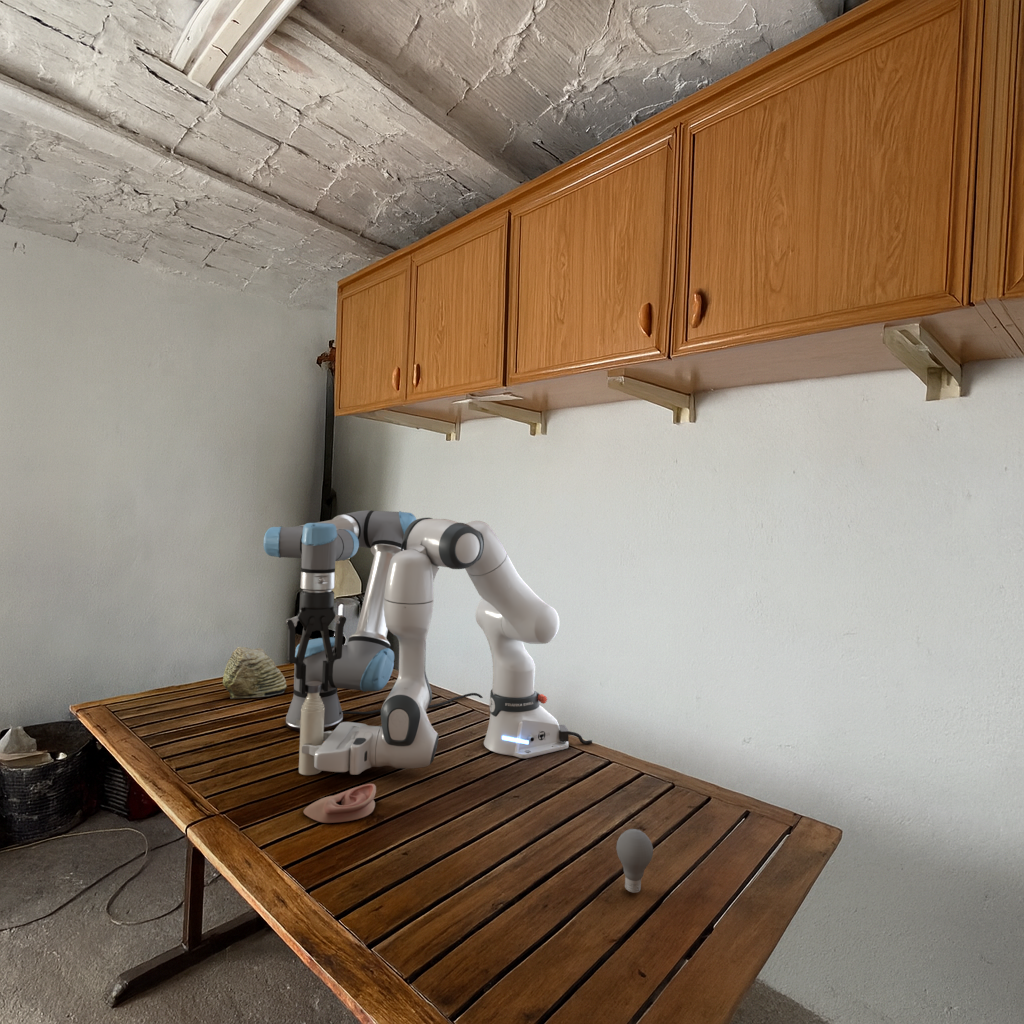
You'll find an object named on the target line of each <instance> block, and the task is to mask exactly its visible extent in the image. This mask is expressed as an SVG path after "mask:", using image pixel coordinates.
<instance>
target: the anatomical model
mask: <svg viewBox="0 0 1024 1024" xmlns="http://www.w3.org/2000/svg"><path fill="white" fill-rule="evenodd" d="M376 793H377V785H376V784H374V783H365V784H362V785H359V786H355V787H353V788H349V789H347V790H345V791H341V792H340V793H337V794H334V795H329V796H326V797H322V798H320V799H318V800H316V801H314V802H312V803H311V804H309V805H308V806H306V807H305V808H304V809H303V810H302V811H303V814H304V815H305V816H307V817H308V818H309V819H311V820H313V821H316V822H318V823H324V824H332V823H333V824H335V823H345V822H350V821H351V822H352V821H355V820H356V821H357V820H359V819H363V818H365V817H368V816H369V815H371V814H372V813H373V812H374V810H375V808H376V802H375V800H374V799H375V796H376Z"/></svg>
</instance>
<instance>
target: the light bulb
mask: <svg viewBox="0 0 1024 1024" xmlns="http://www.w3.org/2000/svg"><path fill="white" fill-rule="evenodd" d="M615 849H616V854H617V857H618V859H619V861H620V863H621V865H622V867H623V873H624V874H623V875H624V876H625V878H624V888H625V890H627V891H628V892H630V893H634V894H635V893H639V892H640V891H641V889H642V887H641V886H642V879H643V877H644V875H645V871H646V868H647V867H648V866H649V864H650V863H651V861H652V859H653V855H654V847H653V843H652V841H651V838H649V836H648V835H647V834H646V833H645V832H643V831H642V830H641V829H636V828H629V829H627V830H625V831H623V832H622V833H621V834H620V835H619V837H618V839H617V841H616V847H615Z"/></svg>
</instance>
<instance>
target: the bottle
mask: <svg viewBox="0 0 1024 1024" xmlns="http://www.w3.org/2000/svg"><path fill="white" fill-rule="evenodd" d="M324 715H325V707H324V704H323V701H322V699H321V696H319V693H308V694H307V697H306V699H305V702H304V703H303V705H302V708H301V720H300V731H299V747H298V748H299V749H298V773H299V774H300V775H303V776H314V775H318V774H320V773H321V772H322V770H318V769H316V768H315V767H314V756H312V755H310V754H304V753H302V746H303V745H304V744H305V743H307V744H308V743H311V744H312V745H314V746H317V745H322V744H323V743H324V742H325V741H324V732H325V731H324Z"/></svg>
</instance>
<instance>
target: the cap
mask: <svg viewBox="0 0 1024 1024" xmlns="http://www.w3.org/2000/svg"><path fill="white" fill-rule="evenodd" d="M321 691H322V682H320V681H310V682H307V683H305V692H307V693H319V692H321Z"/></svg>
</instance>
